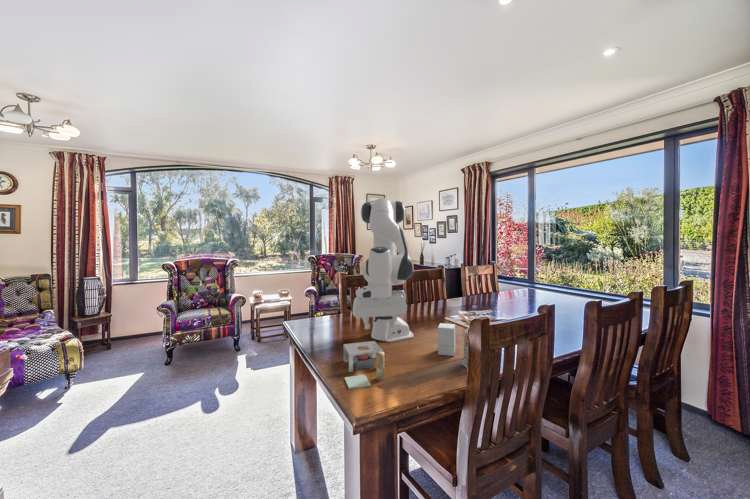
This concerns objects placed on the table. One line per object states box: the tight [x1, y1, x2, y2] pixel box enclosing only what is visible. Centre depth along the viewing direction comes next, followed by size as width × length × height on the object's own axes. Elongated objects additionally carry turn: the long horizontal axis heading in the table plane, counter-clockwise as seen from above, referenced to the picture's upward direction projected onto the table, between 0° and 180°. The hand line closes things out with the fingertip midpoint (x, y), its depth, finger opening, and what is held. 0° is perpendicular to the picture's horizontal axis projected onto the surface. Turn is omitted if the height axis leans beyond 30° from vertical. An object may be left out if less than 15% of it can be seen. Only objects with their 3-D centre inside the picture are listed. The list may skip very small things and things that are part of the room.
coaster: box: [344, 374, 372, 390], centre depth 117 cm, size 8×8×1 cm
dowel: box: [376, 351, 386, 382], centre depth 119 cm, size 3×3×10 cm
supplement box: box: [437, 322, 456, 357], centre depth 145 cm, size 7×7×13 cm
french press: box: [461, 305, 477, 369], centre depth 133 cm, size 10×12×25 cm
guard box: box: [342, 340, 384, 373], centre depth 133 cm, size 14×12×7 cm
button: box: [358, 354, 369, 360], centre depth 132 cm, size 4×4×3 cm
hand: (379, 327), depth 118 cm, fingers open, 8 cm apart
